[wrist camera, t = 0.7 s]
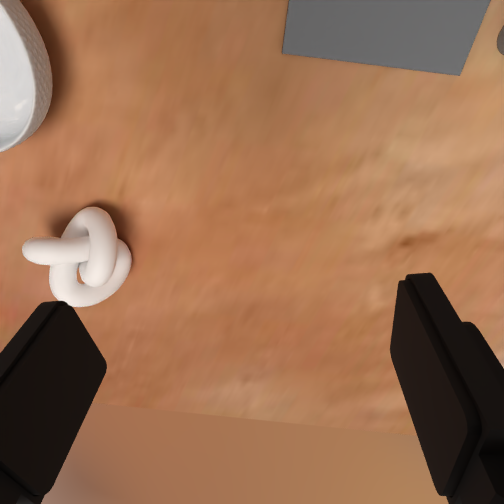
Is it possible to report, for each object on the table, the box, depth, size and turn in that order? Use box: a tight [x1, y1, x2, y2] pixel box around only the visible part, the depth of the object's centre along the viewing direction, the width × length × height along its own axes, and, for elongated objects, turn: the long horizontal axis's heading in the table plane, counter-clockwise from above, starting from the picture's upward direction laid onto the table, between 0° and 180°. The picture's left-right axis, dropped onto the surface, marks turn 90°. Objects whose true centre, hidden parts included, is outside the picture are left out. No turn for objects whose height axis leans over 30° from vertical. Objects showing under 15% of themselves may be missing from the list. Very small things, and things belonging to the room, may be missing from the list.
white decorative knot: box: [22, 207, 132, 307], centre depth 42 cm, size 11×12×9 cm
